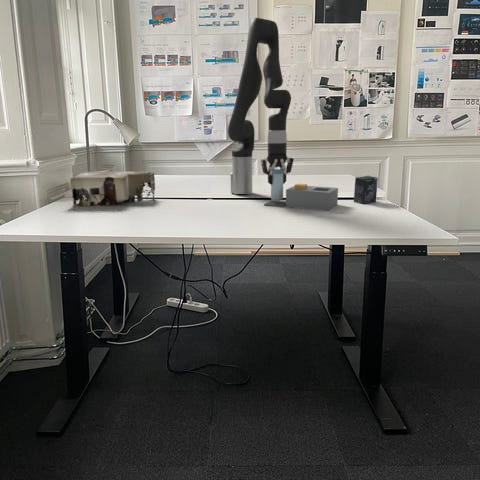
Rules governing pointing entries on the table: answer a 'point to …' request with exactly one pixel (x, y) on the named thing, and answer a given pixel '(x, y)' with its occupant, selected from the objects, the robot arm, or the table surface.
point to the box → (365, 189)
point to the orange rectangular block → (300, 186)
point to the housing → (312, 197)
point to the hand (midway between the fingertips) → (277, 183)
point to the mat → (275, 204)
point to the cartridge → (277, 185)
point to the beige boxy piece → (110, 187)
